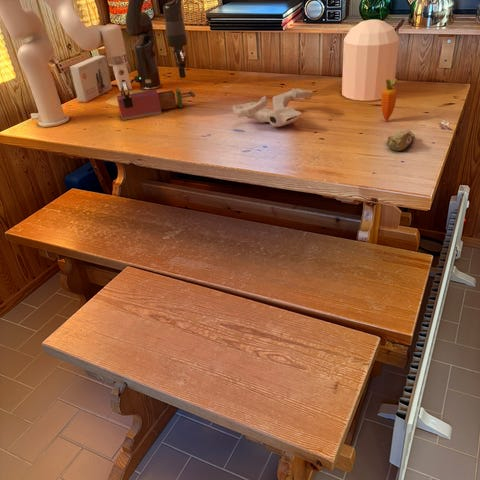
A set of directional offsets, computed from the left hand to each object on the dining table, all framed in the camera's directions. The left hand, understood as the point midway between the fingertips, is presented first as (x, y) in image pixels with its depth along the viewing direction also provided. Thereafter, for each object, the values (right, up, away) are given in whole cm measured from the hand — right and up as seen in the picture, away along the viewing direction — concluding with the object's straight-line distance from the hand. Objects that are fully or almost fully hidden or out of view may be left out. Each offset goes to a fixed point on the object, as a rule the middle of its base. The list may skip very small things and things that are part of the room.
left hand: (127, 104), depth 190 cm
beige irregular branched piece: (+61, -13, -19) cm, 65 cm away
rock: (+98, -26, -42) cm, 110 cm away
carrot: (+99, -13, -24) cm, 103 cm away
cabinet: (+5, -3, +4) cm, 7 cm away
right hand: (+22, +12, +2) cm, 25 cm away
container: (+99, +6, +3) cm, 99 cm away
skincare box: (-23, +14, +32) cm, 42 cm away
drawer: (+17, +1, +6) cm, 18 cm away
